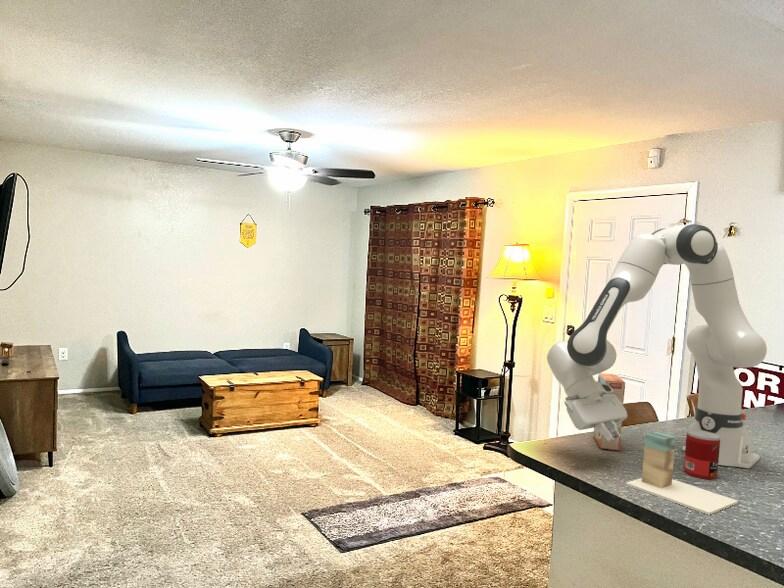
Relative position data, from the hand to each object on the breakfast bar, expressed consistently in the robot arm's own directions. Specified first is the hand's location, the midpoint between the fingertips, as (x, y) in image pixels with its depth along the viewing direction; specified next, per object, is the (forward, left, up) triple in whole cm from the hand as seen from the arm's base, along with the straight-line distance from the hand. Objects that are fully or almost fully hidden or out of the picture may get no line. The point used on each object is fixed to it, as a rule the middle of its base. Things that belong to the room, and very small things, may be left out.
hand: (614, 438), depth 154 cm
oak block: (0, +12, -8) cm, 15 cm away
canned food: (-20, +13, -9) cm, 26 cm away
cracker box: (-21, -16, -9) cm, 28 cm away
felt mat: (0, +18, -8) cm, 20 cm away
